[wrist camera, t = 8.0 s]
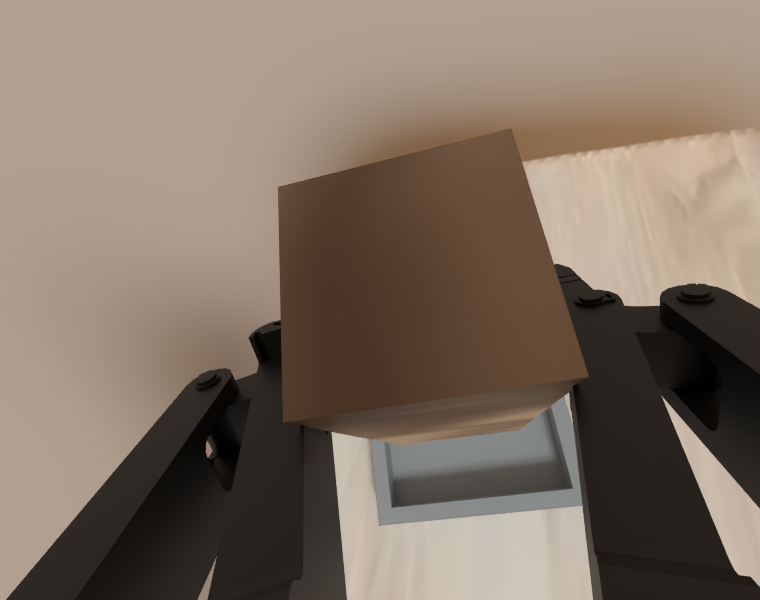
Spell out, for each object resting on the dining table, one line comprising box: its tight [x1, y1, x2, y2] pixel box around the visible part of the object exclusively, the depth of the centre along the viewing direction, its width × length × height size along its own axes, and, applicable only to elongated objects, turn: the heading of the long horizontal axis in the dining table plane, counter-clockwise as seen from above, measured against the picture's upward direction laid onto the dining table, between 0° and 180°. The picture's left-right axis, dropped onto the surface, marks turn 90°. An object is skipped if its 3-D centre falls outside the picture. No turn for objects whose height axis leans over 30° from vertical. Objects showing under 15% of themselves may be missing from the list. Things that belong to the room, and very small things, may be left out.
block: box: [278, 129, 589, 445], centre depth 13 cm, size 5×5×12 cm
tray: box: [371, 396, 583, 526], centre depth 31 cm, size 14×14×2 cm
